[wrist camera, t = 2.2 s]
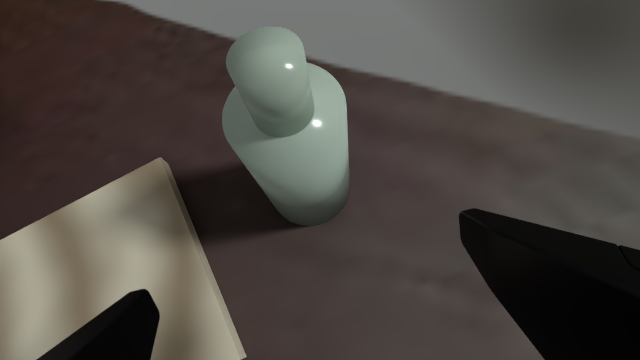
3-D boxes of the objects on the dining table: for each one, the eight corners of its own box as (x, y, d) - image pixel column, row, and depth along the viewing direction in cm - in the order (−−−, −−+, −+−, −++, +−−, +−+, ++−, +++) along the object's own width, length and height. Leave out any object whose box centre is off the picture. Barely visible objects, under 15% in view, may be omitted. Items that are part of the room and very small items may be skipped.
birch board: (-36, 530, 18) (-61, 543, 17) (-50, 277, 25) (-69, 276, 24) (246, 356, 20) (240, 359, 19) (168, 163, 27) (160, 157, 26)
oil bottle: (293, 241, 23) (223, 152, 11) (258, 175, 25) (167, 41, 13) (365, 199, 24) (376, 71, 11) (324, 139, 26) (297, -21, 14)
